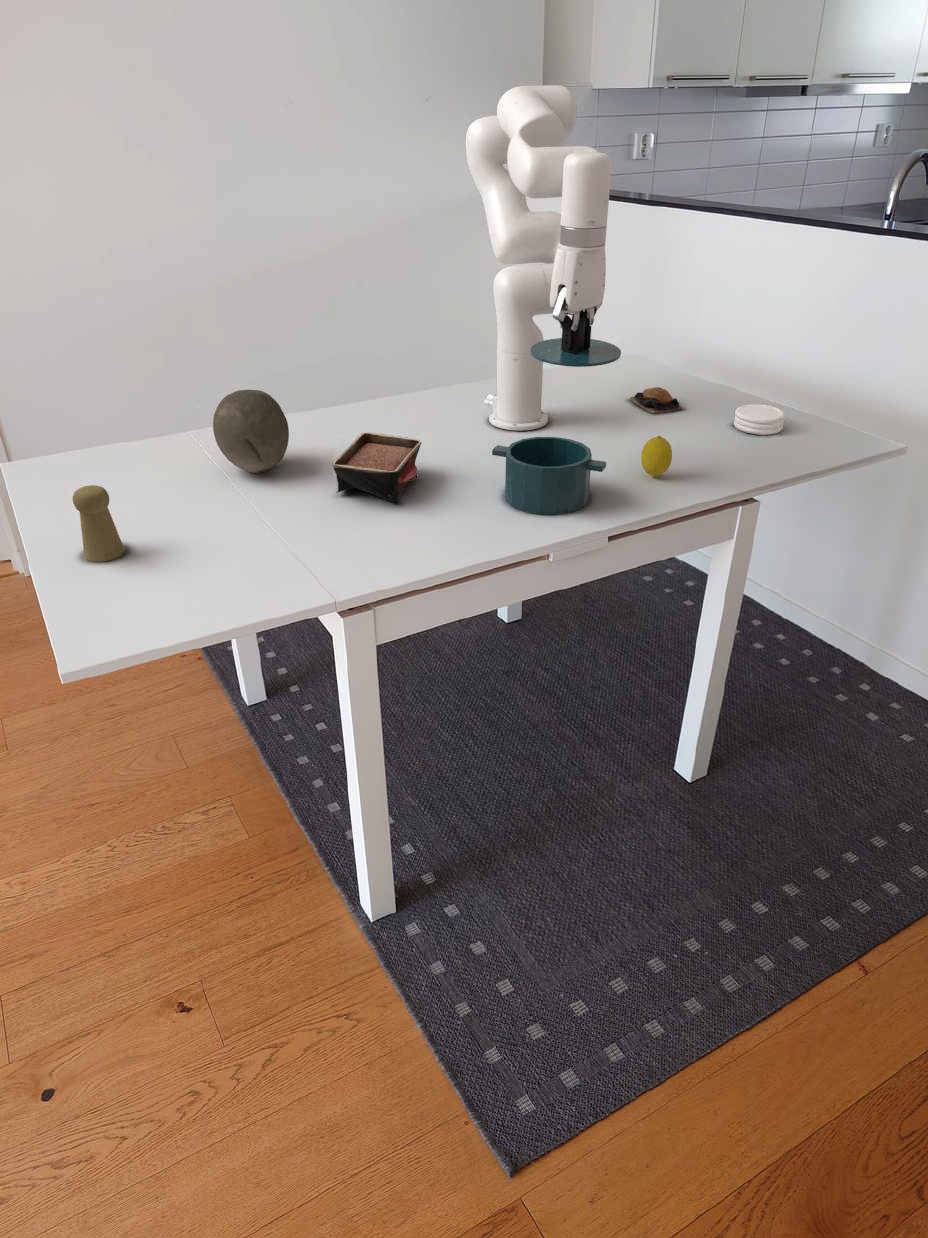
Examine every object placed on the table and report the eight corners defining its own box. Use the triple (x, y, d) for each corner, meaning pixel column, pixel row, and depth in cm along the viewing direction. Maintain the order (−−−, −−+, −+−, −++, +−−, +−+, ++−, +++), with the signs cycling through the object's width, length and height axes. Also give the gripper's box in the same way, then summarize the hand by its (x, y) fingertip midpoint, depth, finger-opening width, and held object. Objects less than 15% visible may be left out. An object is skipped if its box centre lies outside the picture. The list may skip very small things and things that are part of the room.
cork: (90, 545, 143) (73, 481, 137) (128, 543, 143) (113, 479, 137) (79, 562, 138) (62, 497, 132) (119, 561, 138) (103, 495, 132)
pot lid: (548, 339, 165) (549, 305, 161) (631, 349, 159) (634, 314, 156) (516, 363, 152) (517, 327, 149) (605, 374, 147) (608, 337, 144)
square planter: (432, 486, 166) (430, 432, 163) (395, 510, 151) (391, 452, 147) (362, 482, 171) (358, 430, 167) (319, 506, 155) (314, 449, 152)
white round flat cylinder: (788, 424, 187) (791, 408, 186) (774, 438, 180) (777, 422, 179) (741, 416, 192) (744, 400, 190) (726, 430, 185) (729, 413, 183)
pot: (508, 473, 166) (509, 430, 162) (612, 490, 159) (616, 445, 155) (478, 503, 155) (478, 457, 150) (588, 523, 148) (592, 475, 143)
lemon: (669, 484, 161) (674, 442, 157) (638, 481, 162) (642, 440, 158) (669, 472, 166) (674, 431, 162) (639, 470, 167) (643, 429, 163)
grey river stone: (308, 462, 172) (300, 385, 164) (265, 489, 161) (254, 408, 153) (248, 451, 177) (237, 376, 169) (203, 476, 166) (189, 398, 158)
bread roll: (627, 400, 202) (628, 384, 200) (659, 396, 204) (661, 380, 202) (651, 414, 193) (652, 398, 192) (684, 410, 196) (686, 393, 194)
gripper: (592, 227, 152) (584, 336, 162) (534, 241, 142) (529, 356, 152) (629, 233, 148) (619, 344, 158) (572, 247, 138) (565, 364, 148)
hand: (575, 348), depth 155 cm, fingers closed on pot lid, 2 cm apart
